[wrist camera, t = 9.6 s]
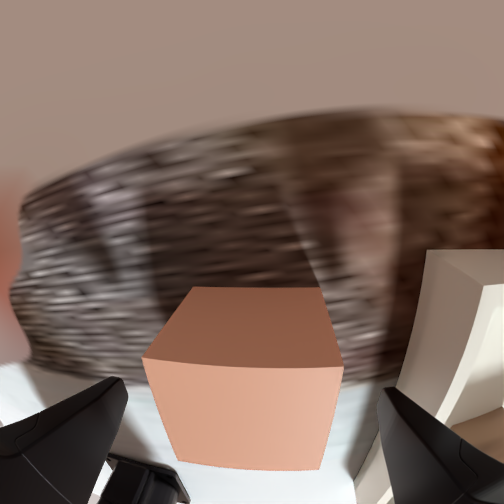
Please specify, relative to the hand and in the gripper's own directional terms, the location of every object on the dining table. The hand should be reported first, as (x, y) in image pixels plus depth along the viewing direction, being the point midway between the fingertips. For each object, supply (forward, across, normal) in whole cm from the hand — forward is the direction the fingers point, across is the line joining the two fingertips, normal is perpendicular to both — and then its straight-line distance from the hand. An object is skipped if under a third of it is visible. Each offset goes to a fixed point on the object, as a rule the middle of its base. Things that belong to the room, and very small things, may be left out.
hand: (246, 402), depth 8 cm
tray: (+4, -15, +5) cm, 16 cm away
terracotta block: (+4, 0, 0) cm, 4 cm away
